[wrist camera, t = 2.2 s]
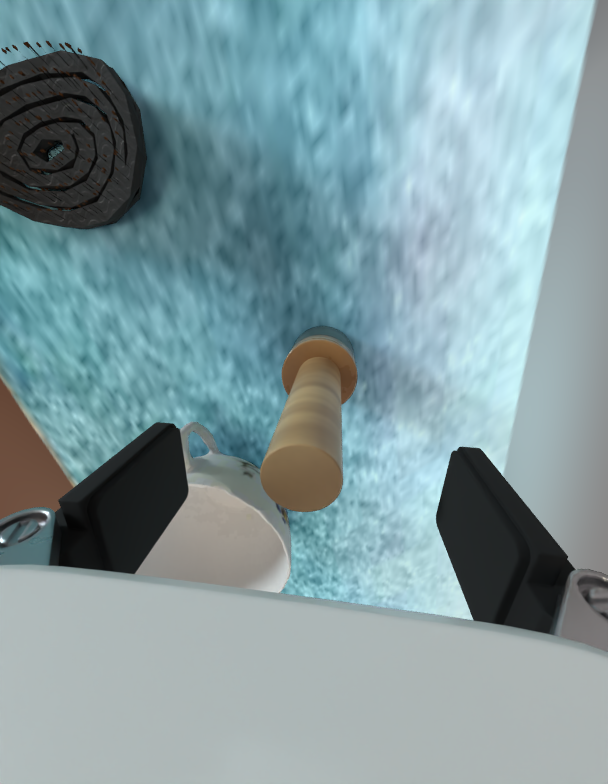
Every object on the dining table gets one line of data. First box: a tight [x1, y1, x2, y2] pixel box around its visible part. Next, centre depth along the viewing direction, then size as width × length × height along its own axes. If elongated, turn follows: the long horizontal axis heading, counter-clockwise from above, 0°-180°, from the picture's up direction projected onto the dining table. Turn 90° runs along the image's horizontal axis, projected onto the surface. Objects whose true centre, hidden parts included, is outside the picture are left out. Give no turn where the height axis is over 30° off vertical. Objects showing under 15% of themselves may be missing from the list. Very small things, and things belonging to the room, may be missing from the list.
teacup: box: [135, 422, 291, 593], centre depth 23 cm, size 15×12×8 cm
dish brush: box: [260, 326, 357, 512], centre depth 16 cm, size 5×5×14 cm
